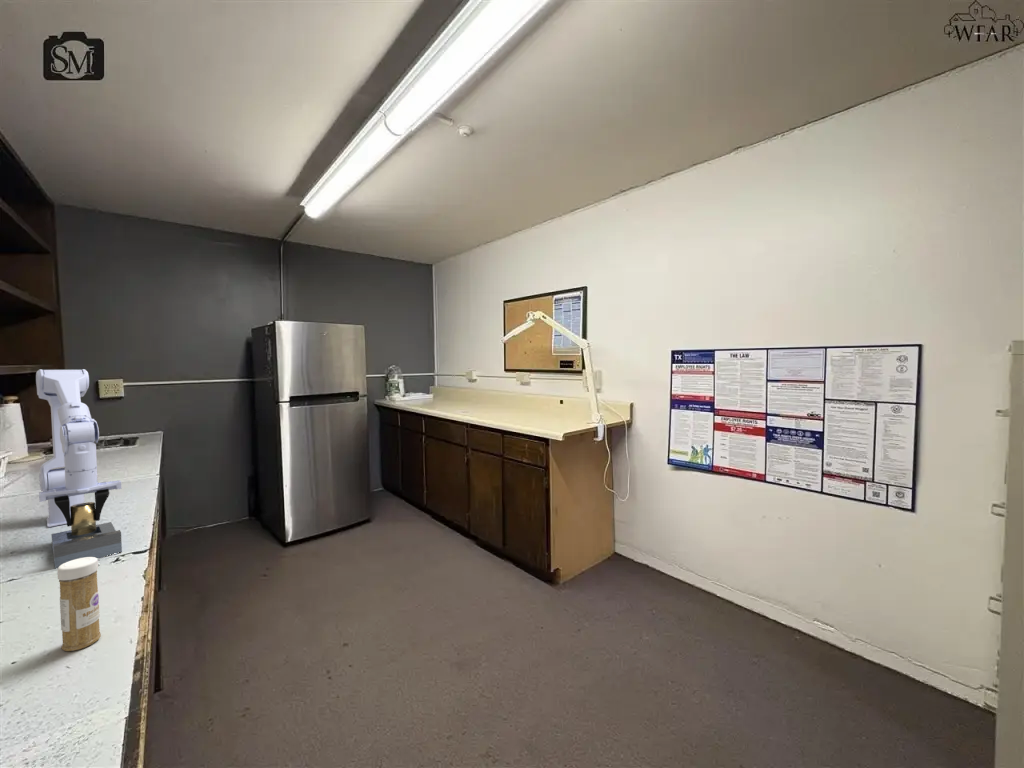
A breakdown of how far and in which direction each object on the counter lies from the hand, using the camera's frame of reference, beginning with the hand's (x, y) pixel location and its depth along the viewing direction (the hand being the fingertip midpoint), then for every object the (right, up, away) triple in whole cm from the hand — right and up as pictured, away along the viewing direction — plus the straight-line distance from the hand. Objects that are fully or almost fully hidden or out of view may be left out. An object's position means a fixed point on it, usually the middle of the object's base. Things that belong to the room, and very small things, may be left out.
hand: (83, 522), depth 108 cm
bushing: (0, -3, 0) cm, 2 cm away
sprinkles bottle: (+39, -7, -39) cm, 55 cm away
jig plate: (+4, -5, -3) cm, 7 cm away
